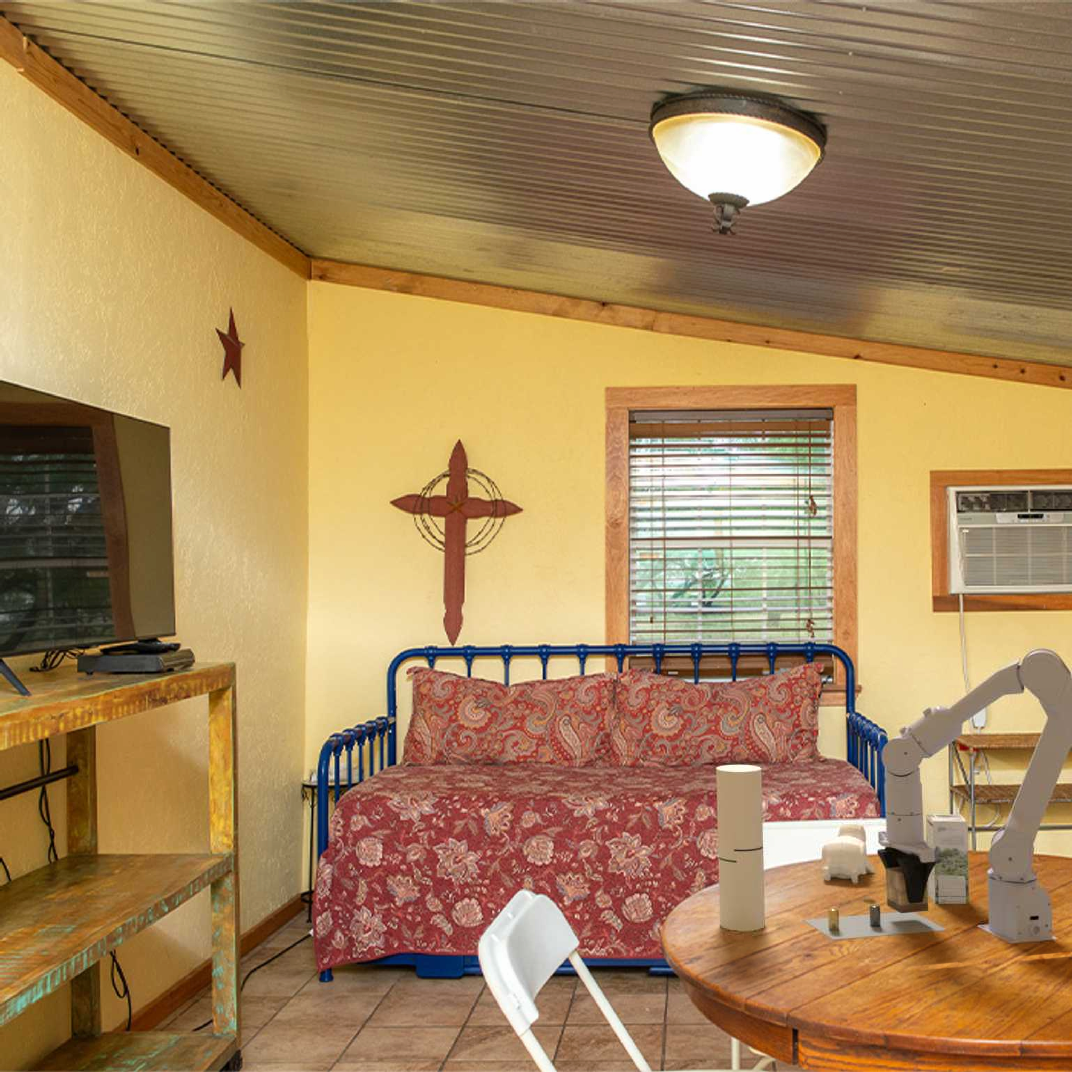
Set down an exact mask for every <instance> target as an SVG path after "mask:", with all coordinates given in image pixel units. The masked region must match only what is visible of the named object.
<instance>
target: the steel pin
mask: <svg viewBox="0 0 1072 1072" xmlns="http://www.w3.org/2000/svg"><path fill="white" fill-rule="evenodd" d="M869 914H870V926H872V927H880V926H881V921H880V914H881V906H880V905H879V904H878V905H877V904H871V905H869Z"/></svg>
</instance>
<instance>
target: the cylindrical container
mask: <svg viewBox="0 0 1072 1072" xmlns="http://www.w3.org/2000/svg"><path fill="white" fill-rule="evenodd" d="M715 772H716V773H715V775H716V806H717V807H716V808H717V809H716V811H717V815H716V816H717V845H718V846H717V848H718V849H717V850H718V851H717V854H718V856H717V857H718V858H717V859H718V895H719V896H718V897H719V901H718V902H719V925H721V926H722V929H725V928H727V929H726V930H728V929H729V931H733V930H738V931H737V932H755V931H754V930H756V931H759V929H760V930H762V929H764V928H765V927H766V911H765V910H766V909H765V908H766V906H765V899H766V898H765V874H764V873H765V868H764V867H765V866H764V865H765V864H764V861H765V860H764V833H763V832H764V831H763V830H764V828H763V827H764V825H763V824H764V823H763V819H764V818H763V787H762V785H763V784H762V783H763V782H762V768H761V767H760V766H756V765H751V764H725V765H719V766H717V767H716V771H715ZM721 926H720V927H721ZM764 926H765V927H764ZM761 928H762V929H761Z"/></svg>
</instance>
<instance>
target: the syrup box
mask: <svg viewBox="0 0 1072 1072" xmlns="http://www.w3.org/2000/svg"><path fill="white" fill-rule="evenodd" d="M968 825H969V824H968V821H967V820H966V819H965V818H964V816H962V815H961V814H952V813H951V814H947V813H946V814H926V815H925V828H926V829H925V830H926V831H925V836H926V837H925V838H926V840H925V841H926V842H927V844H928V845H929V846H930V847H931V848H933V849H934V852H935V860H936V864H935V866H934V867H933V869H932V871H931V873H930V875H929V878H928V881H927V891H928V898H930V899H931V900H932V902H933V903H934V904H942V905H943V904H956V905H957V904H960V905H961V904H963V905H965V904H966V905H968V904H970V880H969V878H970V876H969V875H970V874H969V827H968Z"/></svg>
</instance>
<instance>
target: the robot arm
mask: <svg viewBox="0 0 1072 1072" xmlns="http://www.w3.org/2000/svg"><path fill="white" fill-rule="evenodd" d="M1021 659H1022V662H1021ZM1020 663H1021V664H1020ZM1071 672H1072V671H1070V668H1068V666H1067V664H1066V663H1065V662H1064V660H1063V659H1062V658H1061V656H1060V655H1059V654H1058V653H1056V652H1055V651H1053V650H1051V649H1048V648H1036V649H1034V650H1030V652H1028V653H1027V654H1026V655H1025V656H1024V657H1023V658H1016V659H1015V660H1013V661H1011V662H1010V663H1009V664H1006V665H1005V666H1003V667H1001V668H999V669H997V670H996V671H994V673H992V674H991V675H990V676H989V677H987V678H986V679H984V680H983V681H982V682H981V683H979V685H977V686H976V687H974V688H972V690H970V691H969V692H968V693H966V694H965V695H964V696H963V697H962V698H960V699H959V700H957V701H956V702H955V703H954V704H953V705H950V706H943V705H936V706H935V707H934V708H931V707H930V706H928V707H927V708H926V709H924V710H923V711H922V714H923V716H922V717H919V719H917V720H916V721H915V722H913V723H912V724H910V725H909V726H908V727H907V728H906V727H905V726H903V727H901V728H900V729H899V733H900V735H896V736H894V737H892V738H890V739H889V740H888V742H887V743H885V744H884V746H883V747H882V751H881V762H882V764H883V766H884V770H885V771H884V778H885V782H884V803H885V804H884V805H885V806H884V808H885V809H884V810H885V825H886V827H885V830H883V831H878V832H877V834H878V839H877V841H878V844H880V846H881V847H884V848H880V849H877V852H876V853H877V855H878V857H879V859H880V860H881V862H882V864H883V866H884V868H885V869H884V870H886V868H893V867H901V869H902V872H903V875H904V879H905V885H906V892H907V898H908V901H909V903H922V902H923V898H924V894H925V889H926V885H927V881H928V878H929V875H930V873H931V871H932V869H933V867H934V866H935V864H936V860H935V852H934V849H933V848H931V847H930V846H929V845H928V844H927V841H926V840H925V831H924V829H925V828H924V811H923V810H924V807H923V805H924V803H923V784H922V781H921V767H919V766H920V765H921V763H922V762H923V759H930V758H932V757H933V756H935V755H936V754H937V753H939V752H940V751H942V750H943V749H944V748H946V747H947V746H949V745H950V744H951V743H953V742H954V741H955V740H956V739H958V738H960V737H961V736H962V734H963V724H964V723H966V722H967V721H968V720H969V719H972V718H973V717H974V716H975V715H977V714H979V713H981V711H983V710H984V709H986V708H987V707H988V706H990V705H992V704H993V703H995V702H996V701H997V700H999V699H1000V698H1002V697H1004V696H1005V695H1006V696H1008V695H1019V694H1022V695H1023V694H1024V692H1025V689H1027V690H1028V691H1029V693H1031V694H1032V695H1033V696H1034V697H1035V698H1037V699H1038V701H1039V703H1040V706H1041V707H1042V709H1043V711H1044V713H1045V714H1046V716H1047V718H1046V720H1045V723H1044V726H1043V729H1042V731H1041V734H1040V737H1039V739H1038V742H1037V744H1036V747H1035V749H1034V752H1033V753H1032V756H1031V759H1030V761H1029V764H1028V767H1027V770H1026V772H1025V774H1024V776H1023V780H1022V782H1021V784H1020V787H1019V789H1018V792H1017V795H1016V797H1015V799H1014V801H1013V804H1012V807H1011V809H1010V811H1009V814H1008V816H1007V818H1006V819H1005V820H1006V821H1005V823H1004V825H1003V826H1002V827H1001V828H1000V829H998V830H997V831H996V832H995V833H994V834H993V836H992V838H991V842H990V848H989V850H988V854H987V858H988V859H987V860H988V863H989V866H990V868H989V869H987V872H986V873H987V874H986V875H987V902H988V904H987V906H988V924H978V925H977V928H980V929H982V930H983V931H986V932H988V933H990V934H992V935H993V936H994V937H995V936H996V937H998V938H1000V939H1002V940H1003V941H1005V942H1008V943H1010V944H1019V943H1028V942H1029V943H1031V942H1042V941H1052V940H1054V941H1055V940H1058V937H1056V936H1053V916H1052V915H1053V911H1052V910H1053V907H1052V900H1051V896H1050V895H1049V893H1048V892H1047V890H1046V889H1045V888H1043V887H1042V886H1041V885H1040V883H1039V880H1038V872H1037V871H1036V870H1035V869H1034V868H1033V863H1034V859H1033V855H1034V851H1035V846H1034V844H1035V841H1036V838H1037V835H1038V832H1039V828H1040V825H1041V823H1042V820H1043V818H1044V815H1045V813H1046V811H1047V808H1048V805H1049V802H1050V800H1051V799H1052V796H1053V793H1054V790H1055V788H1056V785H1057V783H1058V780H1059V777H1060V775H1061V773H1062V770H1063V767H1064V766H1065V762H1066V760H1067V757H1068V755H1069V753H1070V750H1071V748H1072V673H1071ZM927 886H928V885H927Z"/></svg>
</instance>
